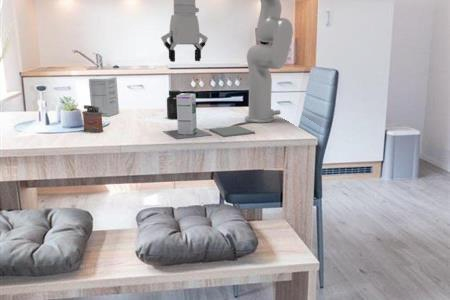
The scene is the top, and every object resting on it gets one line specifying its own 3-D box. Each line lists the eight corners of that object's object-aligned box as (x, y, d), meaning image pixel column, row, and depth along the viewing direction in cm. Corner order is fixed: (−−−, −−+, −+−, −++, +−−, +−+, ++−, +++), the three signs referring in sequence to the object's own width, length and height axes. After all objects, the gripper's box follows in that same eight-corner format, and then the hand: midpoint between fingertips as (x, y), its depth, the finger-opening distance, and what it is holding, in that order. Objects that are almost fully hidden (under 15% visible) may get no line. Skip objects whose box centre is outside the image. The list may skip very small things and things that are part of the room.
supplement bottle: (169, 116, 203) (169, 89, 200) (184, 116, 202) (184, 89, 199) (165, 119, 197) (164, 91, 194) (180, 119, 196) (179, 91, 193)
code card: (196, 128, 178) (196, 127, 178) (212, 135, 166) (212, 134, 166) (162, 131, 171) (162, 131, 171) (176, 139, 159) (176, 138, 159)
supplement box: (119, 113, 211) (117, 76, 207) (110, 116, 202) (108, 78, 198) (100, 112, 213) (98, 76, 209) (90, 115, 204) (88, 78, 200)
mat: (237, 127, 180) (237, 125, 180) (255, 133, 169) (255, 131, 169) (208, 130, 174) (208, 128, 174) (224, 136, 163) (224, 135, 163)
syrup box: (192, 134, 165) (192, 95, 161) (177, 134, 166) (176, 94, 163) (196, 131, 171) (196, 93, 167) (181, 131, 172) (180, 92, 168)
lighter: (105, 131, 172) (103, 105, 170) (100, 133, 169) (98, 106, 167) (87, 129, 175) (85, 104, 172) (81, 131, 172) (79, 105, 169)
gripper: (202, 12, 165) (202, 60, 169) (157, 10, 157) (158, 61, 161) (211, 11, 158) (211, 61, 162) (164, 9, 150) (166, 62, 155)
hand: (185, 61), depth 162 cm, fingers open, 9 cm apart
